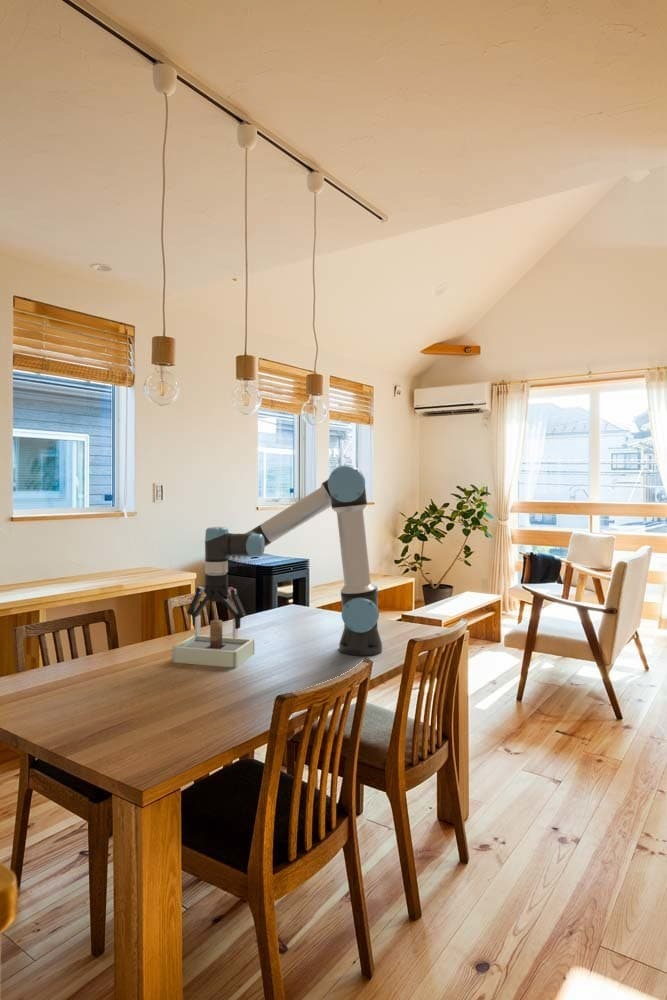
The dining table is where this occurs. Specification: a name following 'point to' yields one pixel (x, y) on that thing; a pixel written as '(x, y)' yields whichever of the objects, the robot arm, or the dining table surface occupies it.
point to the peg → (216, 634)
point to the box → (213, 651)
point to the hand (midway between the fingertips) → (216, 636)
